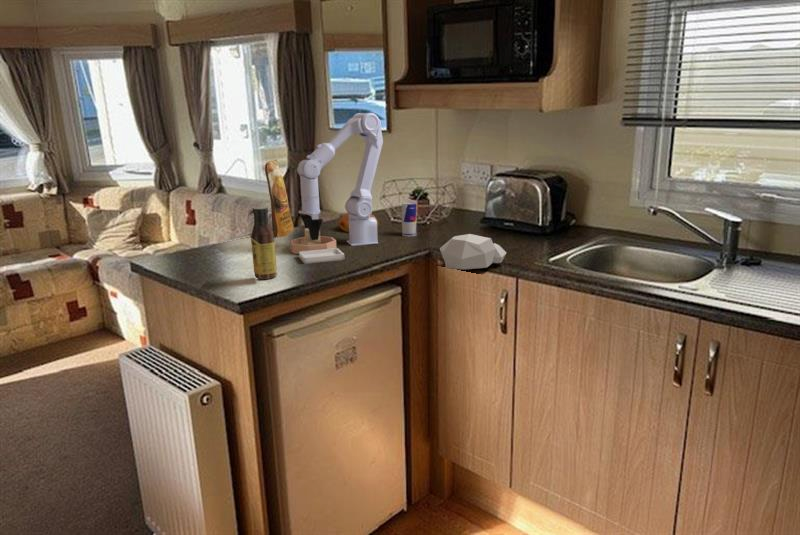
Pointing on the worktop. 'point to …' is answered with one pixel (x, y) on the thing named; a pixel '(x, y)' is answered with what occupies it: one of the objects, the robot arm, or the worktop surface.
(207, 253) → the worktop surface
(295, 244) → the pinkish-brown octagonal ring
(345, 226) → the croissant
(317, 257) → the tray
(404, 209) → the energy drink
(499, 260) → the rock
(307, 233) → the beech peg
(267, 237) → the sauce bottle
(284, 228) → the pancake mix bag
